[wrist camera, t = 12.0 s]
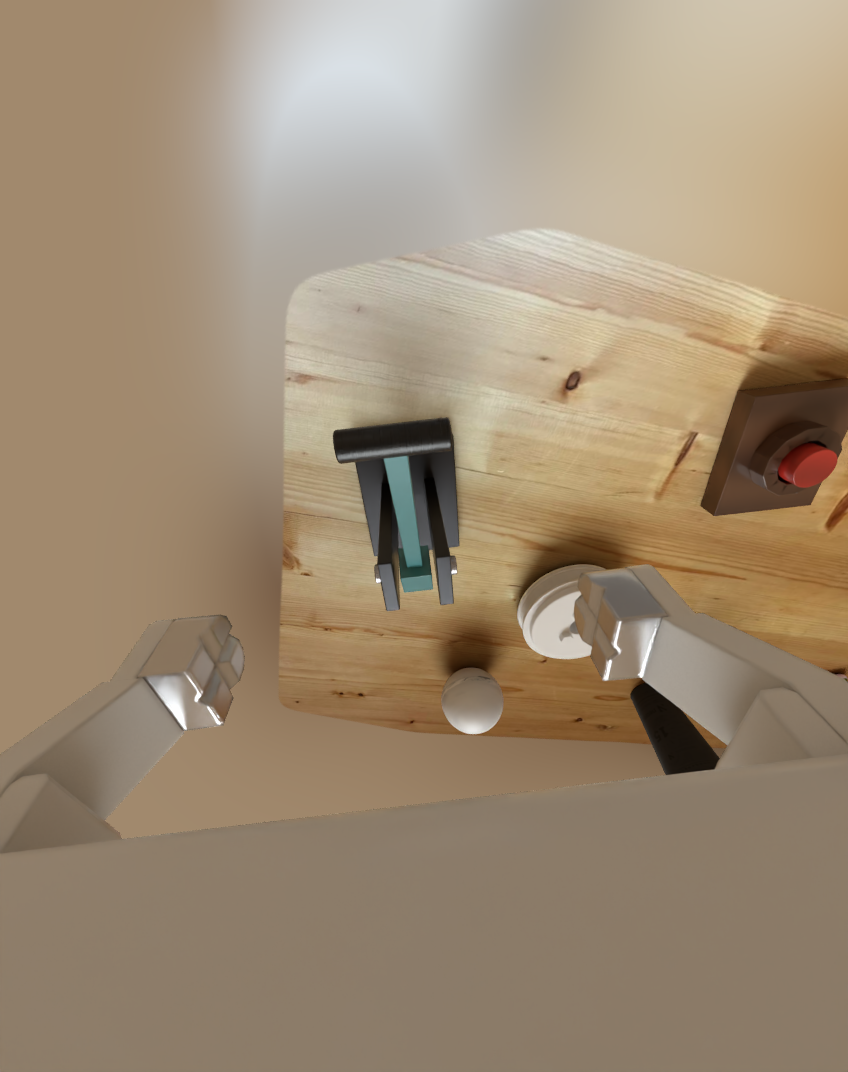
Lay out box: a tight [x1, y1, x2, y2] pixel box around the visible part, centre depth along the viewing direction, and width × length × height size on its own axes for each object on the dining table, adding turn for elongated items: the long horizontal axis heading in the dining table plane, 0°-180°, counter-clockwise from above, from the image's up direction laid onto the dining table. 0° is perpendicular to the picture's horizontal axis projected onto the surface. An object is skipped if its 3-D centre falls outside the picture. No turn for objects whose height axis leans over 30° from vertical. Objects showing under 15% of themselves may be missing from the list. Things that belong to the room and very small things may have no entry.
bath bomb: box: [442, 668, 503, 734], centre depth 52 cm, size 8×8×8 cm
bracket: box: [355, 435, 459, 611], centre depth 34 cm, size 12×9×14 cm
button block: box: [701, 378, 848, 516], centre depth 38 cm, size 12×10×4 cm
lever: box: [333, 417, 452, 592], centre depth 24 cm, size 16×5×2 cm, turn 5°
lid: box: [517, 564, 607, 659], centre depth 47 cm, size 13×13×5 cm
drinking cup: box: [631, 683, 720, 775], centre depth 52 cm, size 8×8×20 cm
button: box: [778, 443, 837, 488], centre depth 36 cm, size 4×4×2 cm
